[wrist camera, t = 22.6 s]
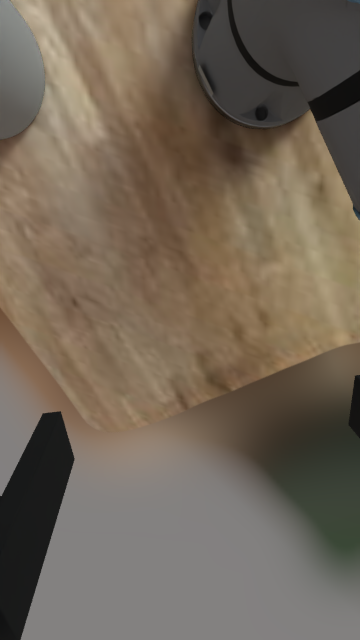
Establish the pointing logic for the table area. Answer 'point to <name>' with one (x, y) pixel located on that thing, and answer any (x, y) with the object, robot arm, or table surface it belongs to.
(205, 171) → the table surface
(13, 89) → the cylinder vase
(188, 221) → the table surface
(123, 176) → the table surface
